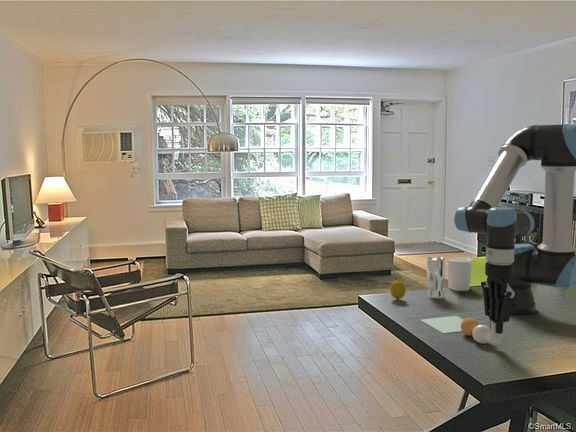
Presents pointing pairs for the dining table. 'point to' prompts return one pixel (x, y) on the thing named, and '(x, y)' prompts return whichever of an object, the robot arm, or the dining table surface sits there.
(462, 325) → the object ball
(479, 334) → the cue ball
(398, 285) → the lemon
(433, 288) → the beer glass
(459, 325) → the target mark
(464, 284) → the candle holder
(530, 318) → the dining table surface
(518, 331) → the dining table surface
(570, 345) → the dining table surface
